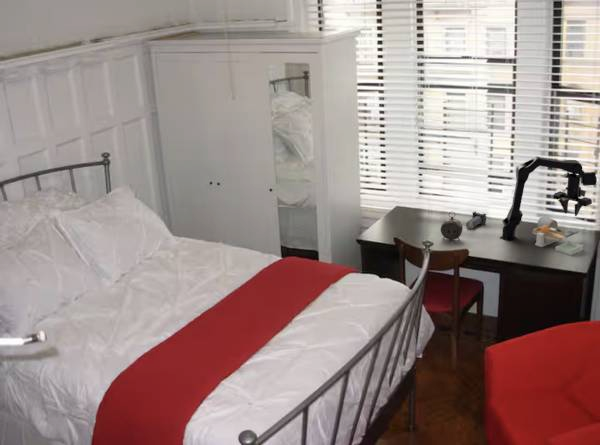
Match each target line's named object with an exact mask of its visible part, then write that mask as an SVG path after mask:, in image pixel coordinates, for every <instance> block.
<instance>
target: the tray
mask: <svg viewBox="0 0 600 445" xmlns="http://www.w3.org/2000/svg"><path fill="white" fill-rule="evenodd" d="M554 251H556V252H558V253H561V254H564V255H567V256H571V257H572V256H573V255H577V254H578V253H580V252H583V251H584V244H580V243H577V242H572V241H569V240H567V241H566V242H563V243H561V244H559V245H556V246H555V248H554Z"/></svg>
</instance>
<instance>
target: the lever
mask: <svg viewBox="0 0 600 445" xmlns="http://www.w3.org/2000/svg"><path fill="white" fill-rule="evenodd" d="M531 231H532V232H531V239H532V240H535V241H536V238H537V233H543V232H542V231H541V227H535V228H534V229H532V230H531ZM543 234H544V239H547V238H549V239H552V240H555V242H559V241H562V240H565V239H567V238H569V237H572V236H574V235H576V234H579V230H577V229H571V230H569V231H566V232H560V231H557V230H556V231H555V230H551V229H549V231H548V232H547V233H543Z"/></svg>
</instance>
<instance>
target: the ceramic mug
mask: <svg viewBox="0 0 600 445" xmlns="http://www.w3.org/2000/svg"><path fill="white" fill-rule="evenodd" d="M536 224H537V226H536V228H538V227H542V226H543V225H547V226H548V227H549V228H554V229H556V230H558V228H559V225H558V222H557V221H556V220H555V219H553V218H550V217H549V216H546V215H541V216H540V217H539V219H538V221H537V223H536Z"/></svg>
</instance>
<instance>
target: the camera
mask: <svg viewBox="0 0 600 445" xmlns="http://www.w3.org/2000/svg"><path fill="white" fill-rule="evenodd" d="M471 213H472V216H471V219H469V220H468V221H466V224H465V227H466V228H467V229H468V230H472V229H473V228H475V227H477V226H478V225H483V226H485V225H486V223H487V214H486V213H480V212H476V211H473V212H471Z"/></svg>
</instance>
